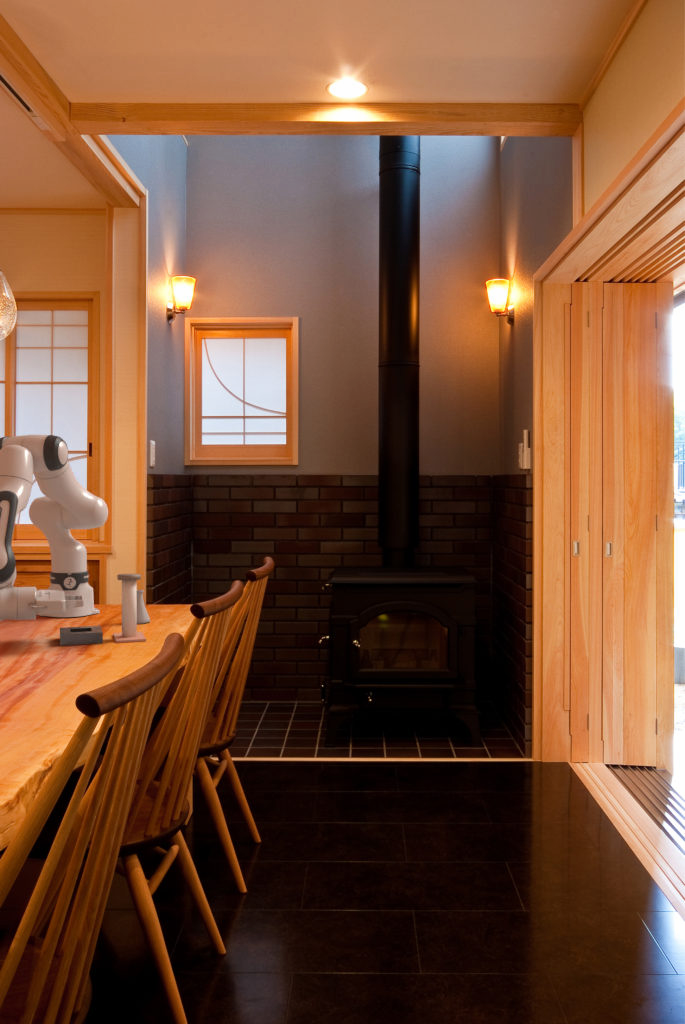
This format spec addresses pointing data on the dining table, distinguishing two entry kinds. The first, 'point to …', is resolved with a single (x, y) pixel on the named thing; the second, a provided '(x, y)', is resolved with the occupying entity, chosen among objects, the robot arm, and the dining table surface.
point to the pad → (129, 638)
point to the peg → (129, 603)
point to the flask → (141, 609)
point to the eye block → (81, 635)
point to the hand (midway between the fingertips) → (82, 600)
